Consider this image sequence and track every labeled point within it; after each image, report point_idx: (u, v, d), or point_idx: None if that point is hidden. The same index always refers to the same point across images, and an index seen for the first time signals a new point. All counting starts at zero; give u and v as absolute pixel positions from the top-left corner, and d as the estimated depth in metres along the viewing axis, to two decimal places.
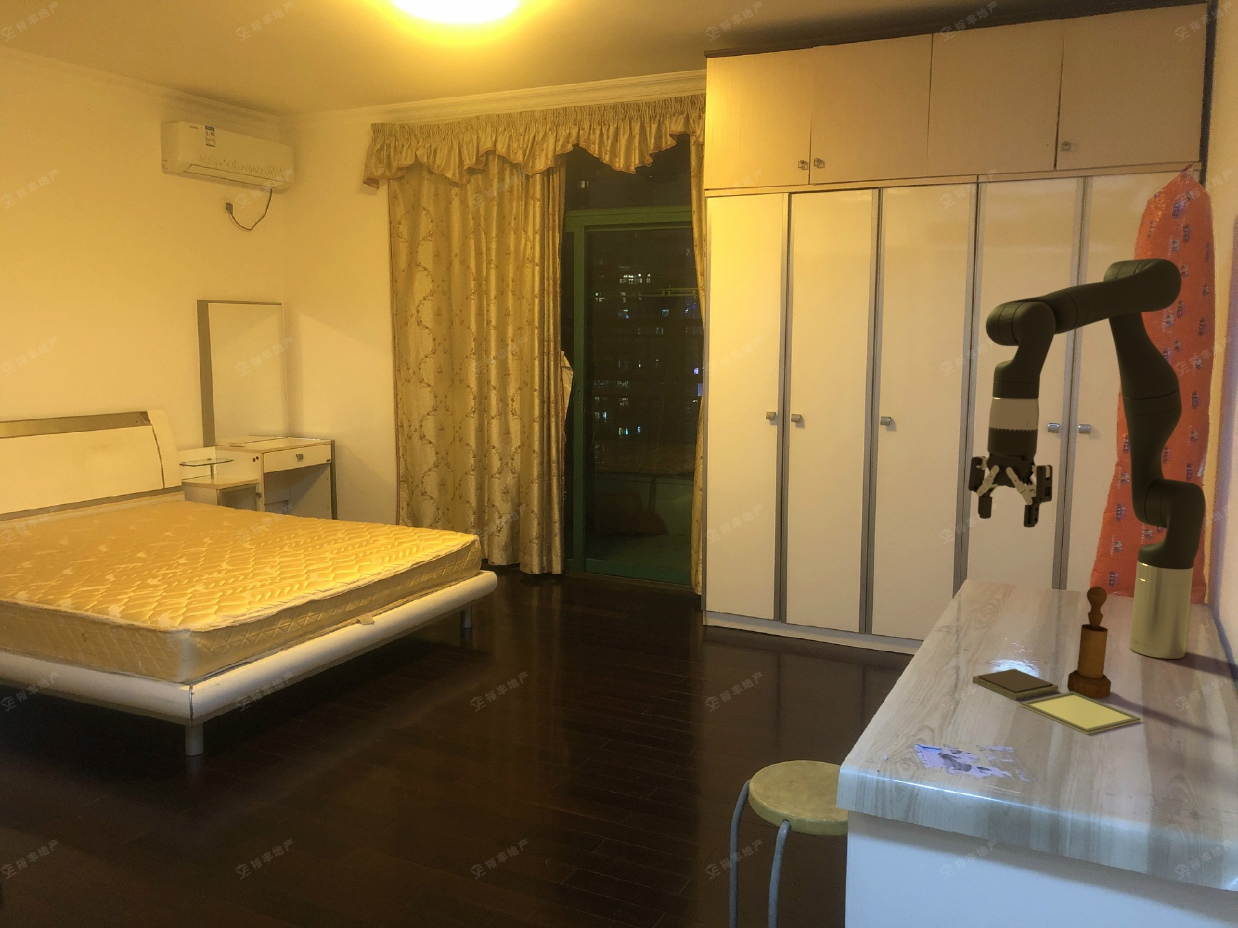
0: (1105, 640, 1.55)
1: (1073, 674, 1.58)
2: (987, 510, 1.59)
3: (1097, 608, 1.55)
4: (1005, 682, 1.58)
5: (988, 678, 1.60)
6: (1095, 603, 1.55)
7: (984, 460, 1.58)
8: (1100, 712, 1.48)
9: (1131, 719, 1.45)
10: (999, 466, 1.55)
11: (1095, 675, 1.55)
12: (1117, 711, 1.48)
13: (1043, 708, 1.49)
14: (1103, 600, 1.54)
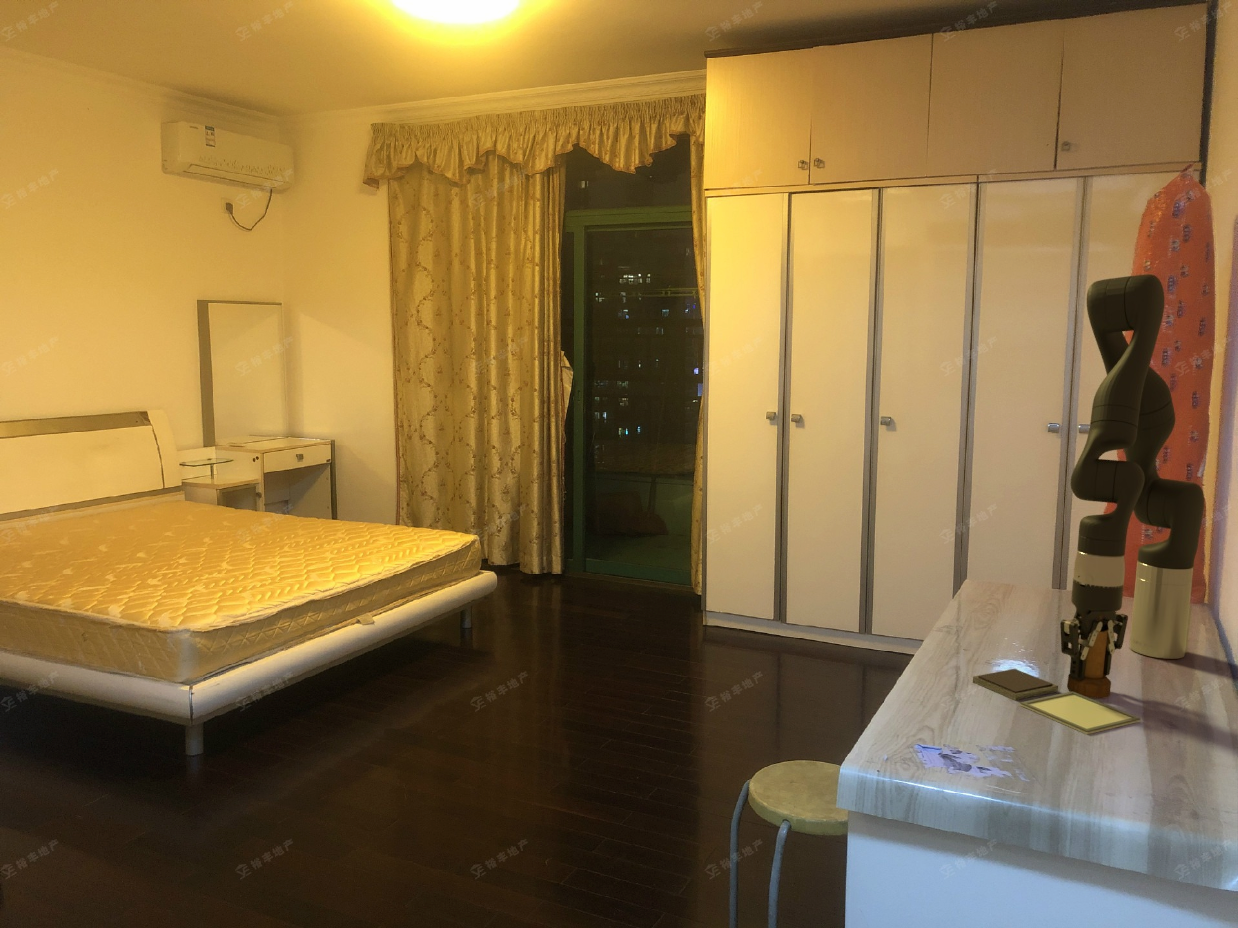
0: (1105, 640, 1.55)
1: None
2: None
3: None
4: (1005, 682, 1.58)
5: (988, 678, 1.60)
6: None
7: (1077, 622, 1.54)
8: (1100, 712, 1.48)
9: (1131, 719, 1.45)
10: None
11: (1095, 675, 1.55)
12: (1117, 711, 1.48)
13: (1043, 708, 1.49)
14: None
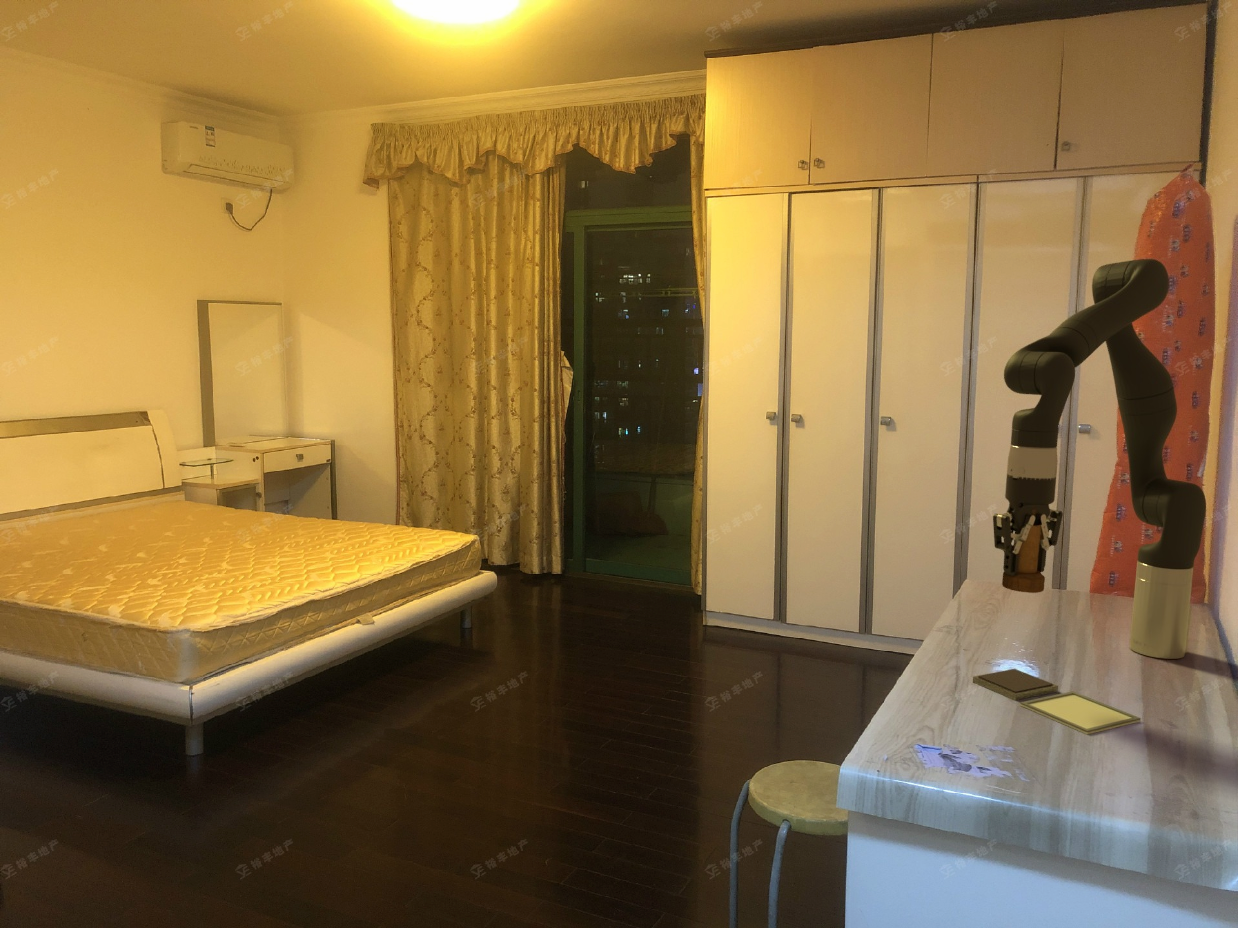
0: (1038, 534, 1.54)
1: None
2: None
3: None
4: (1005, 682, 1.58)
5: (988, 678, 1.60)
6: None
7: (1009, 515, 1.53)
8: (1100, 712, 1.48)
9: (1131, 719, 1.45)
10: (1032, 515, 1.54)
11: (1029, 569, 1.55)
12: (1117, 711, 1.48)
13: (1043, 708, 1.49)
14: None
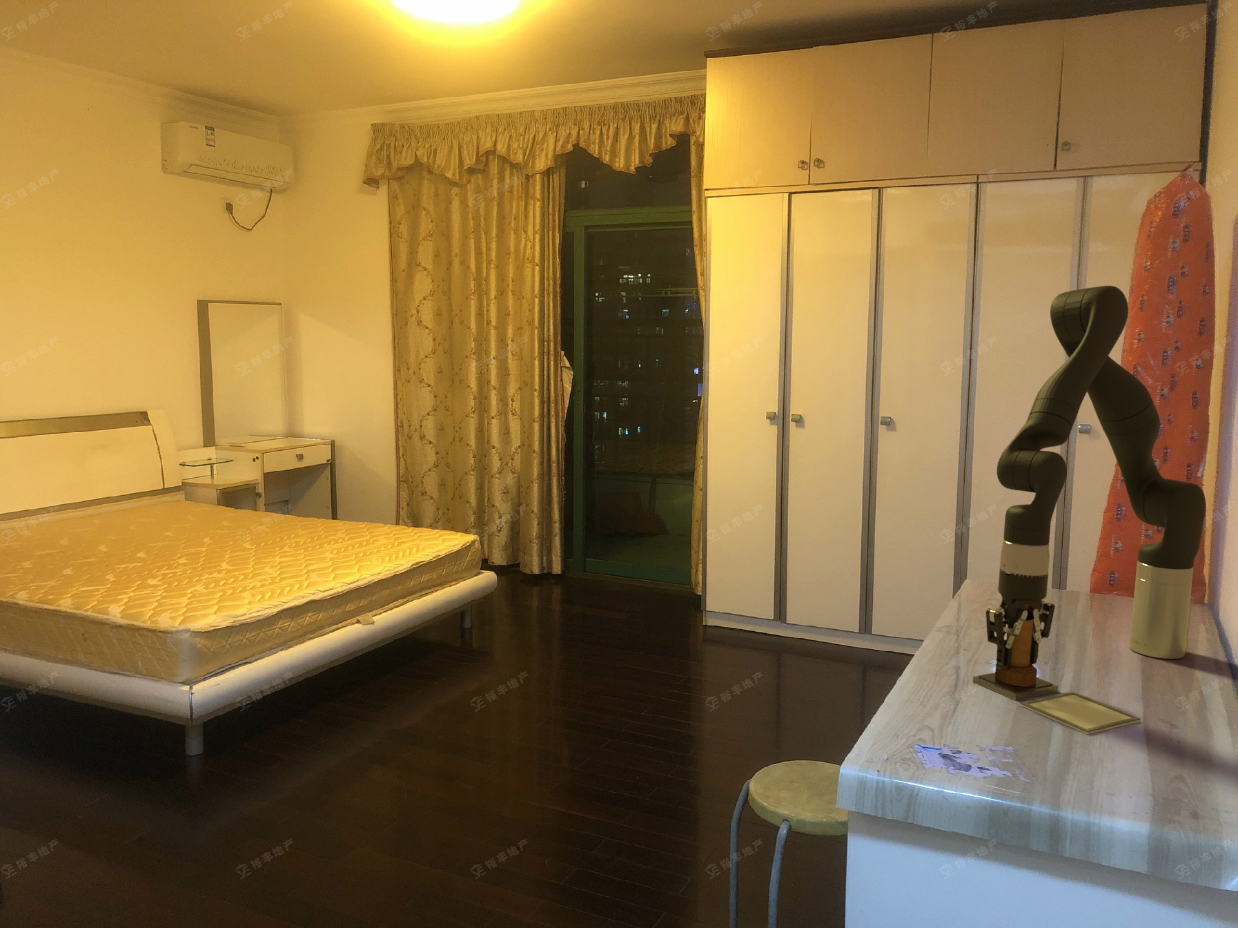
0: (1031, 629, 1.56)
1: None
2: None
3: None
4: None
5: (988, 678, 1.60)
6: None
7: (1002, 610, 1.55)
8: (1100, 712, 1.48)
9: (1131, 719, 1.45)
10: (1024, 610, 1.56)
11: (1021, 663, 1.57)
12: (1117, 711, 1.48)
13: (1043, 708, 1.49)
14: None
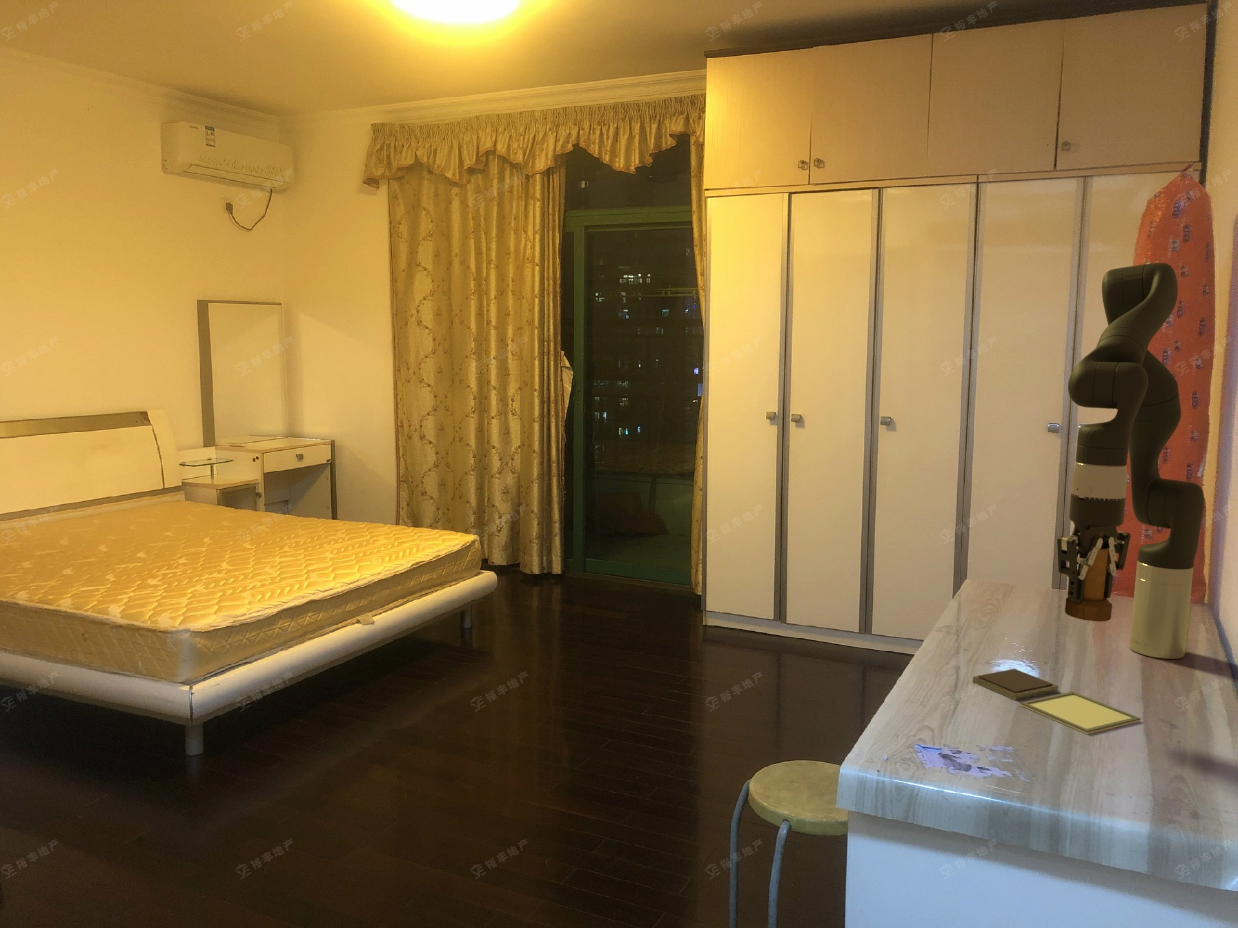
0: (1106, 559, 1.43)
1: None
2: None
3: None
4: (1005, 682, 1.58)
5: (988, 678, 1.60)
6: None
7: (1075, 538, 1.42)
8: (1100, 712, 1.48)
9: (1131, 719, 1.45)
10: (1099, 538, 1.43)
11: (1095, 596, 1.44)
12: (1117, 711, 1.48)
13: (1043, 708, 1.49)
14: None
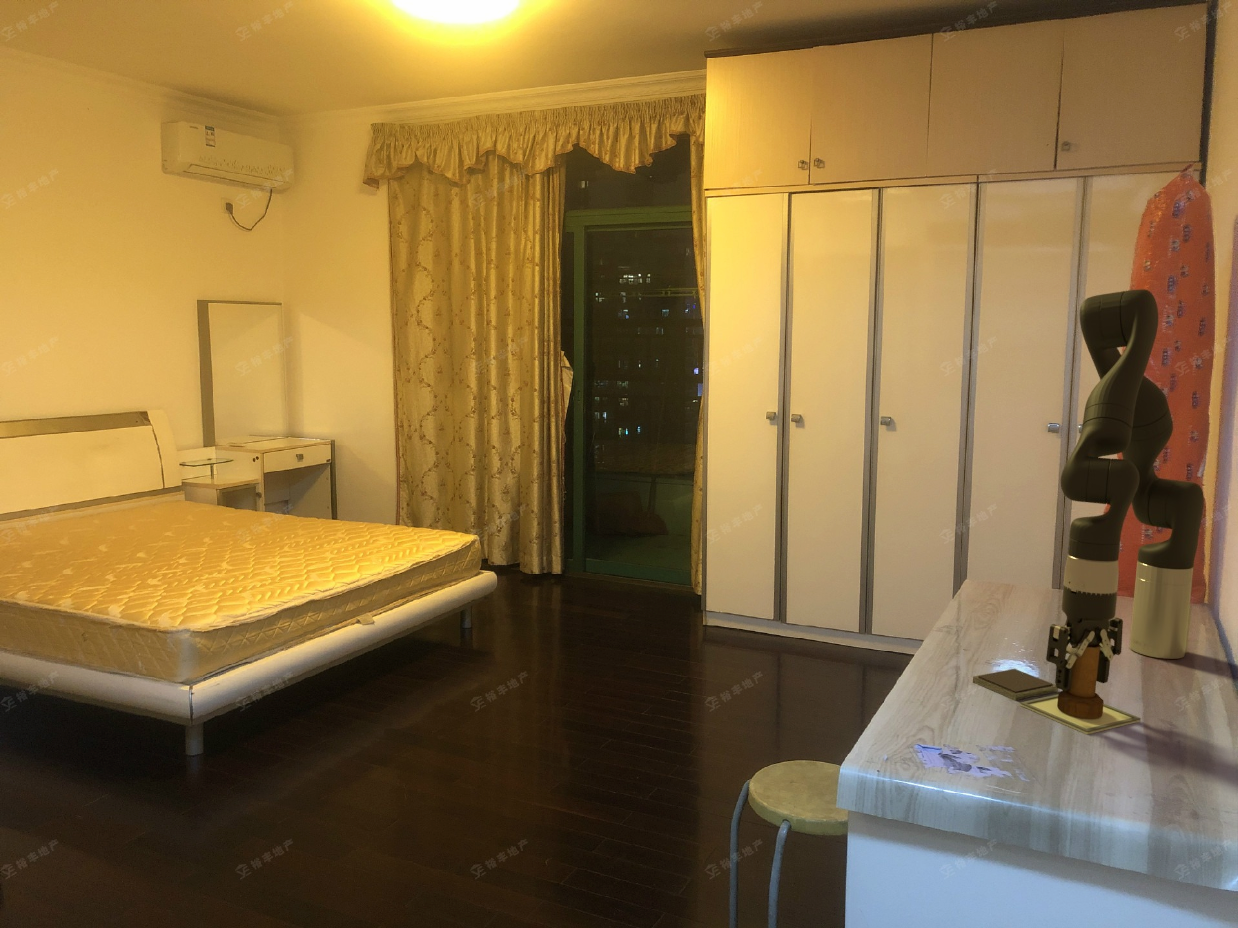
0: (1097, 656, 1.46)
1: (1063, 692, 1.48)
2: None
3: None
4: (1005, 682, 1.58)
5: (988, 678, 1.60)
6: None
7: (1068, 628, 1.44)
8: None
9: (1131, 719, 1.45)
10: (1091, 631, 1.44)
11: (1087, 693, 1.46)
12: (1117, 711, 1.48)
13: (1043, 708, 1.49)
14: None
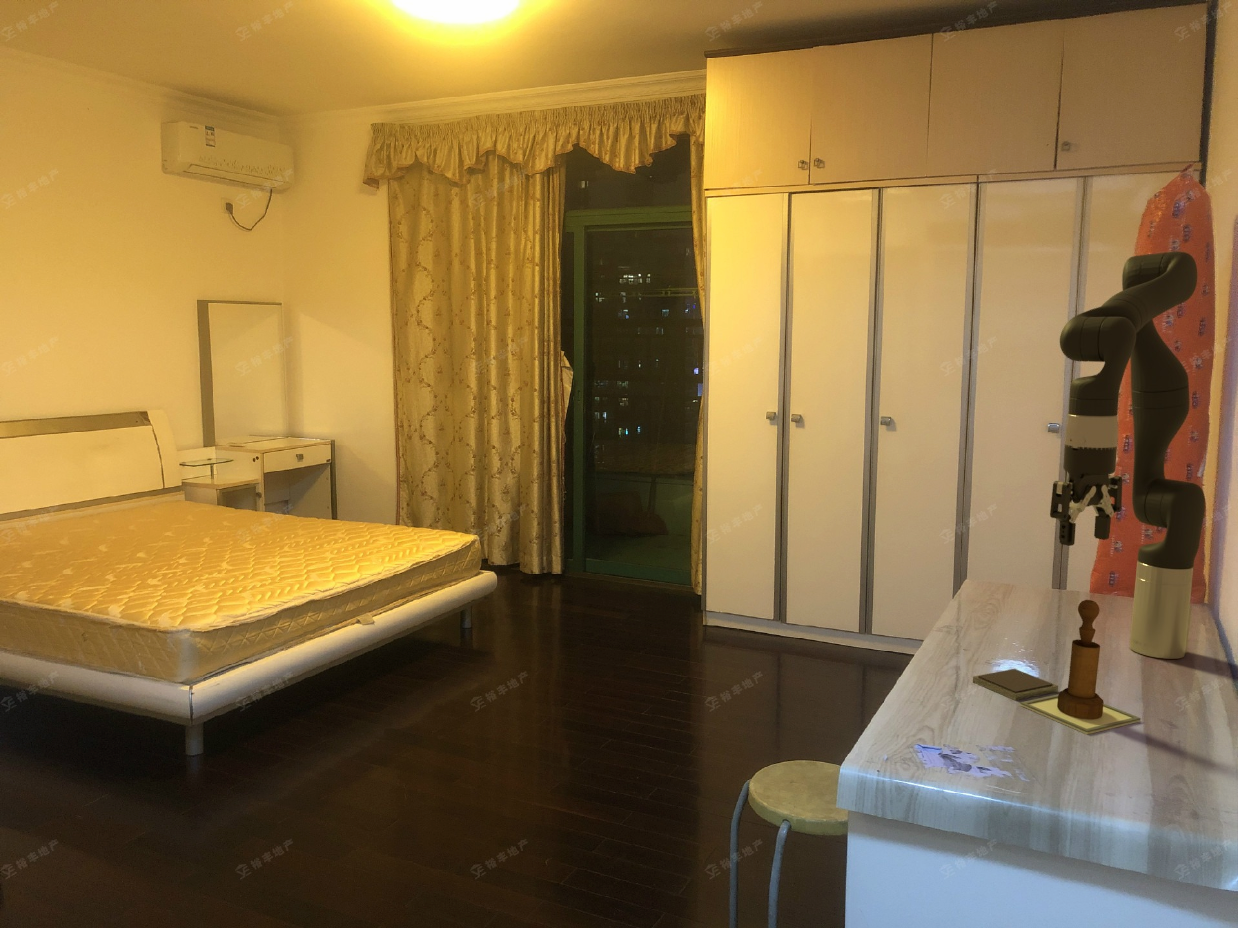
0: (1097, 657, 1.45)
1: (1063, 693, 1.48)
2: None
3: (1089, 623, 1.45)
4: (1005, 682, 1.58)
5: (988, 678, 1.60)
6: (1087, 618, 1.45)
7: (1070, 484, 1.48)
8: None
9: (1131, 719, 1.45)
10: None
11: (1087, 694, 1.46)
12: (1117, 711, 1.48)
13: (1043, 708, 1.49)
14: (1096, 614, 1.45)
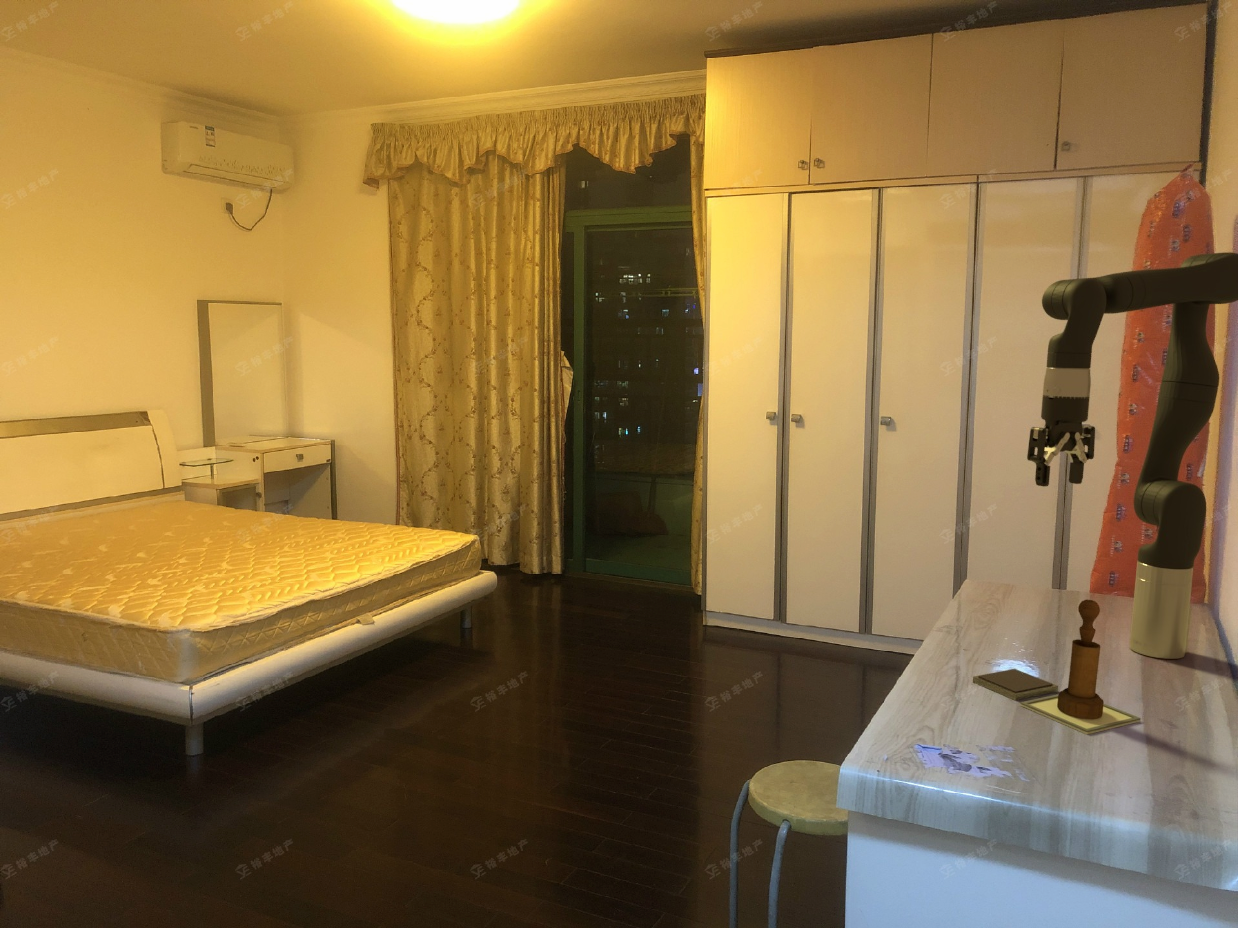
0: (1097, 657, 1.45)
1: (1063, 693, 1.48)
2: None
3: (1089, 623, 1.46)
4: (1005, 682, 1.58)
5: (988, 678, 1.60)
6: (1087, 617, 1.45)
7: (1046, 430, 1.64)
8: None
9: (1131, 719, 1.45)
10: (1067, 433, 1.64)
11: (1087, 694, 1.46)
12: (1117, 711, 1.48)
13: (1043, 708, 1.49)
14: (1096, 614, 1.45)
